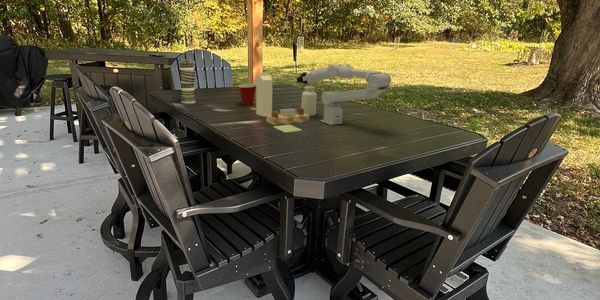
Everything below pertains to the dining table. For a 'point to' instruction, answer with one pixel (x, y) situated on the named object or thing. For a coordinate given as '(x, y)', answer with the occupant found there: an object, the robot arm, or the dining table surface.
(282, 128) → the rubber mat
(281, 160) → the dining table surface
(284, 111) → the lever cap
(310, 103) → the pill bottle
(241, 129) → the dining table surface
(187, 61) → the decorative candle
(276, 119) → the plane body
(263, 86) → the milk
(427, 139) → the dining table surface
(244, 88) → the plastic cup
